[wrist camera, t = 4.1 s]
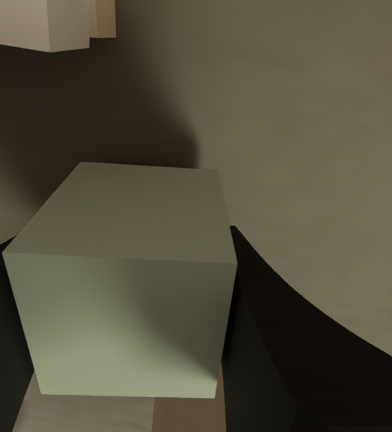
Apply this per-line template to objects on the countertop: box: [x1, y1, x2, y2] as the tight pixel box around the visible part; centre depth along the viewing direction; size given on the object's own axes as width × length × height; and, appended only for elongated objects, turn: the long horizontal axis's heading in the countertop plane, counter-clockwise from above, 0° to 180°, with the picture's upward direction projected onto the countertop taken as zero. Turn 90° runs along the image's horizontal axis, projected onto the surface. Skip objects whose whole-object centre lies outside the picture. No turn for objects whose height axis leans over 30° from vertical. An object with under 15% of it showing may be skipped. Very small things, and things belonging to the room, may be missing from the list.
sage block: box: [2, 162, 237, 398], centre depth 9 cm, size 4×4×5 cm
